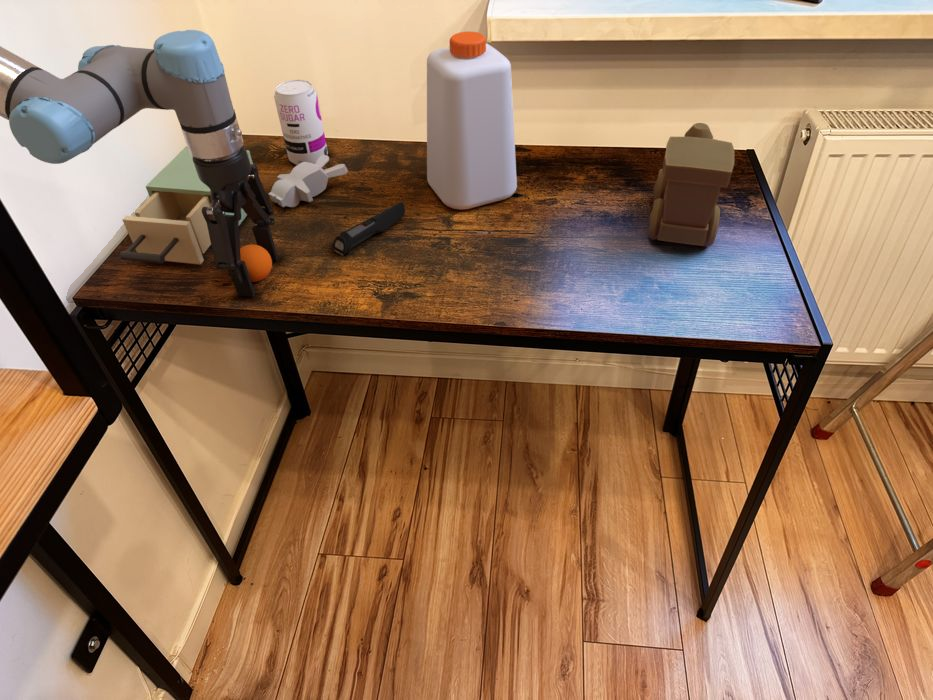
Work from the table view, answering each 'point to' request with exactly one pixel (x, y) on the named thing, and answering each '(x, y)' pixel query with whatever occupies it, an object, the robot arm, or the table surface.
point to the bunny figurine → (304, 182)
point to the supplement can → (300, 121)
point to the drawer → (169, 229)
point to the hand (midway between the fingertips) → (258, 276)
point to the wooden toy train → (691, 188)
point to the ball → (256, 261)
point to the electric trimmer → (368, 228)
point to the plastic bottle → (470, 123)
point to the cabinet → (183, 178)
